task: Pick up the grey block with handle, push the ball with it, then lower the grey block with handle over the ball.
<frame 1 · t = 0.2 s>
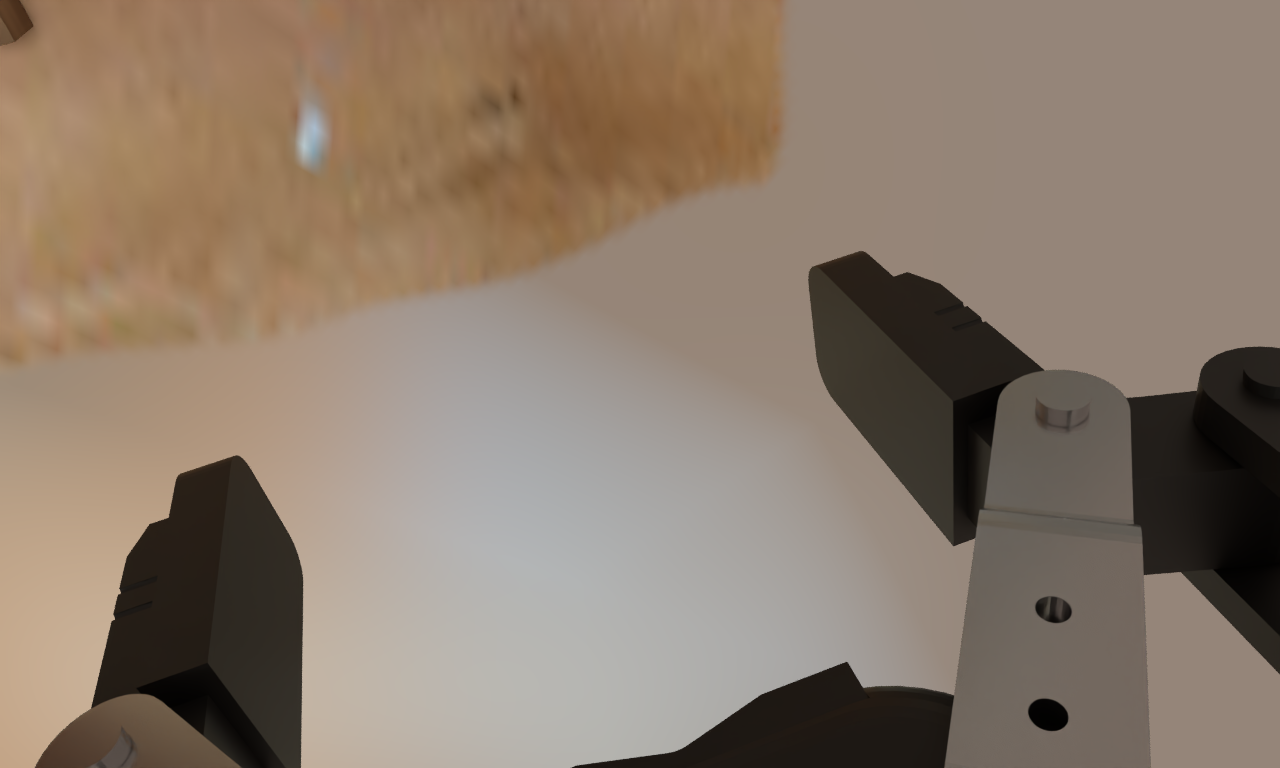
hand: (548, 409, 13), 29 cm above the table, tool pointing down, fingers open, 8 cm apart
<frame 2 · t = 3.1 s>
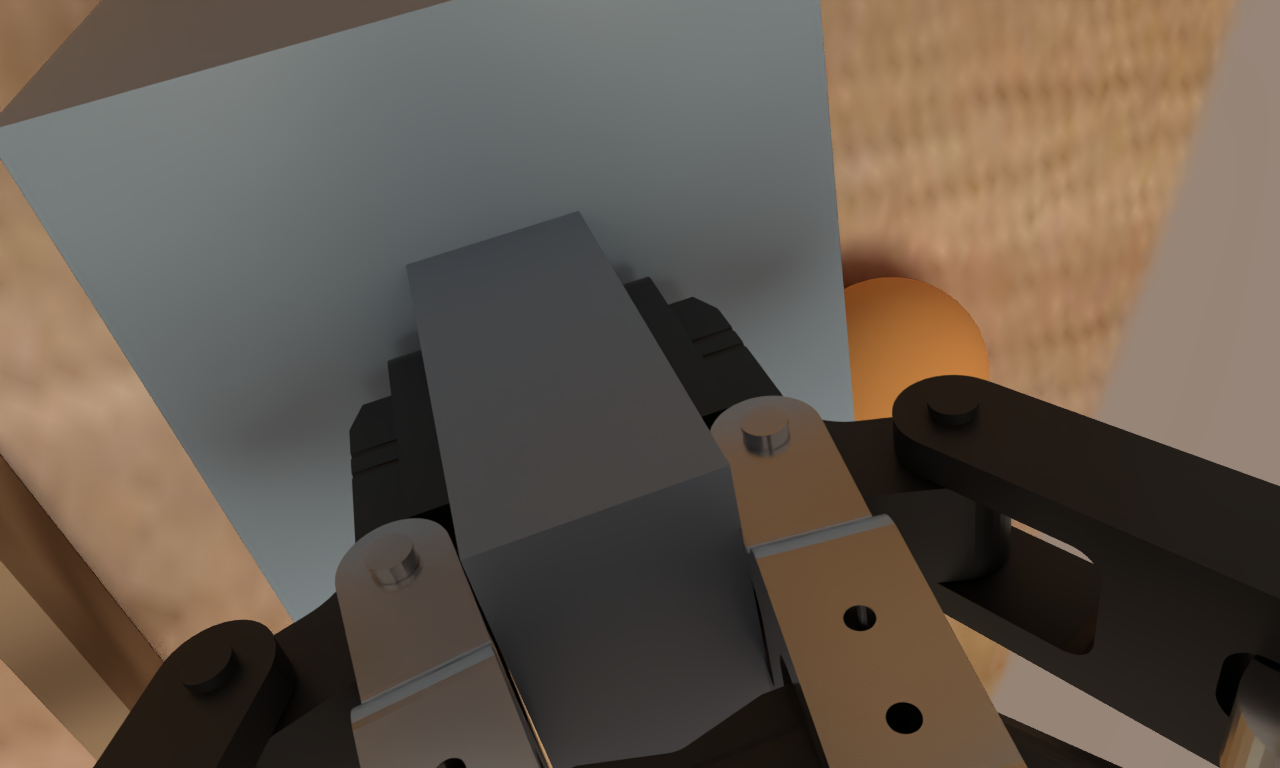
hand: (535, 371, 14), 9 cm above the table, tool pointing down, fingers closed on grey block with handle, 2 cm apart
grey block with handle: (458, 159, 21), on the table, touching gripper
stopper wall: (69, 590, 25), on the table
ball: (888, 371, 25), on the table
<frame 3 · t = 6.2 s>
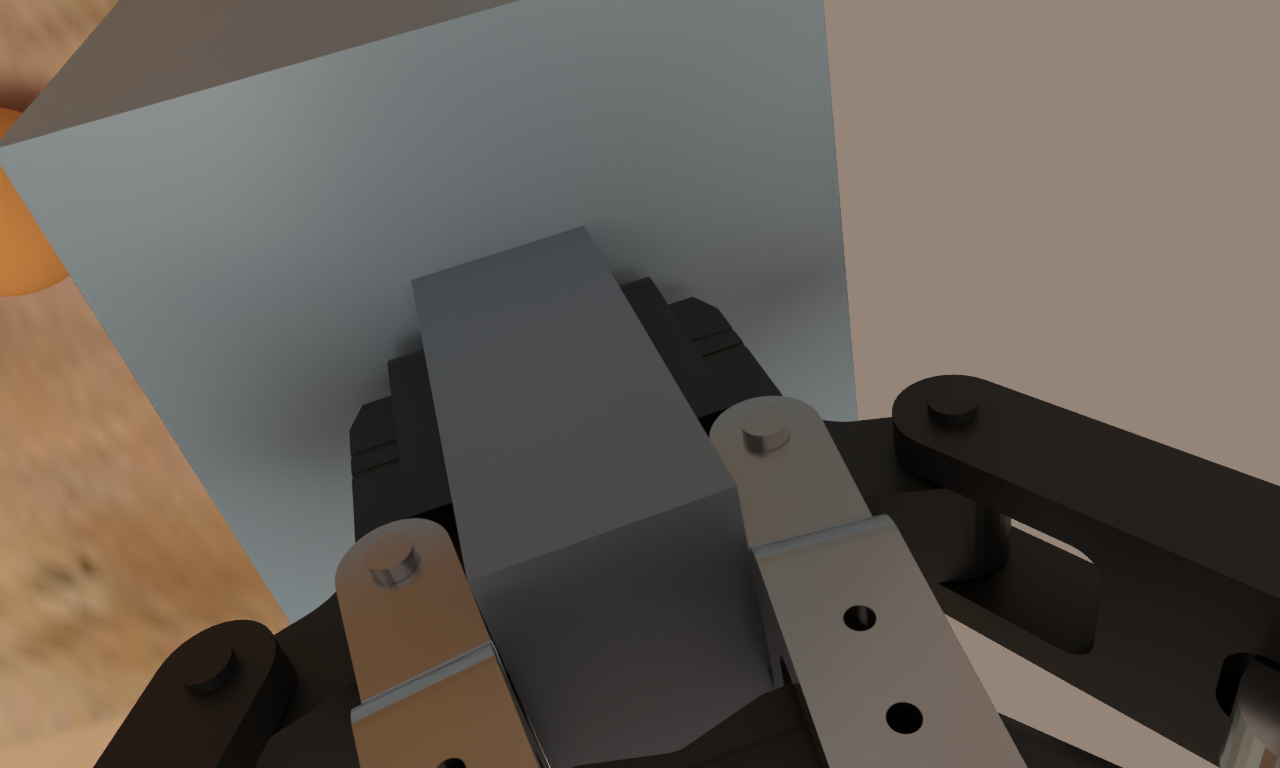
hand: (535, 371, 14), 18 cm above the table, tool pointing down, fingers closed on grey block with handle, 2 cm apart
grey block with handle: (462, 170, 21), point 9 cm above the table, touching gripper
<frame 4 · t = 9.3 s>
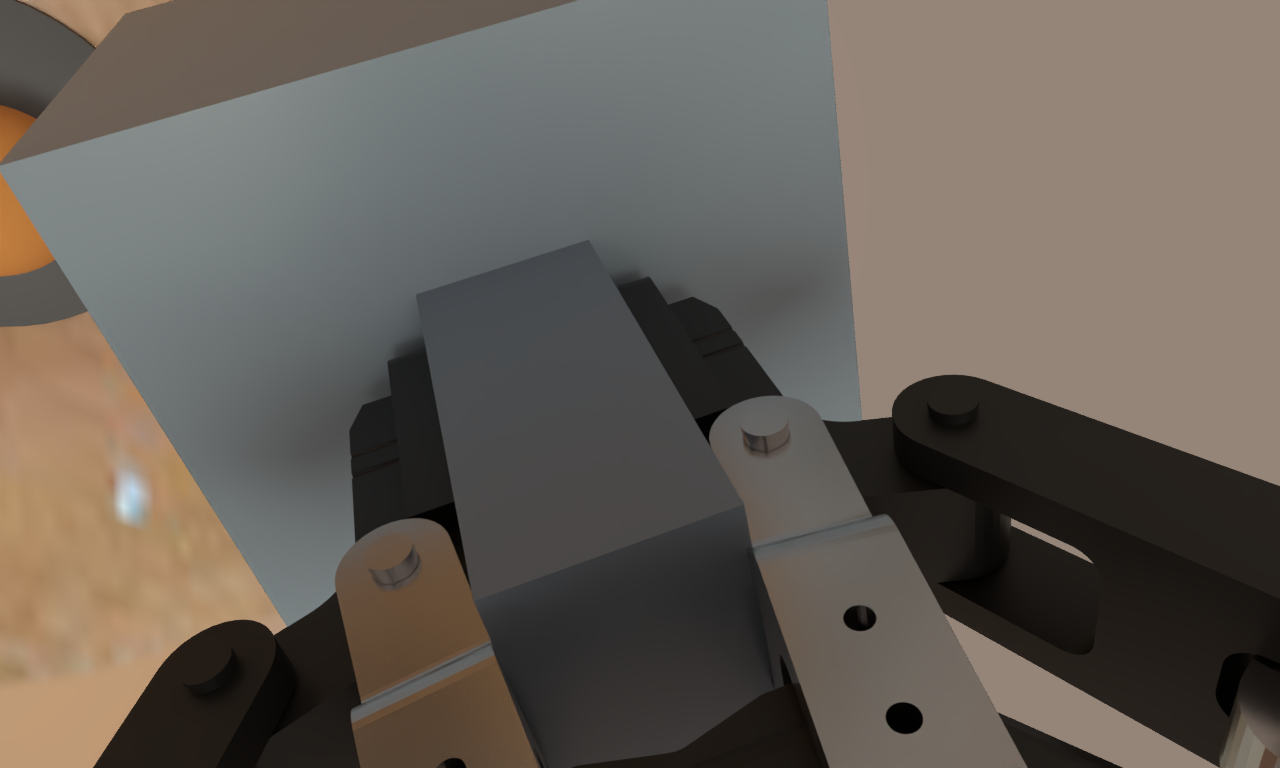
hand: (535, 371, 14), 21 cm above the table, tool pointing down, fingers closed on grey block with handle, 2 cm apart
grey block with handle: (466, 182, 21), point 12 cm above the table, touching gripper
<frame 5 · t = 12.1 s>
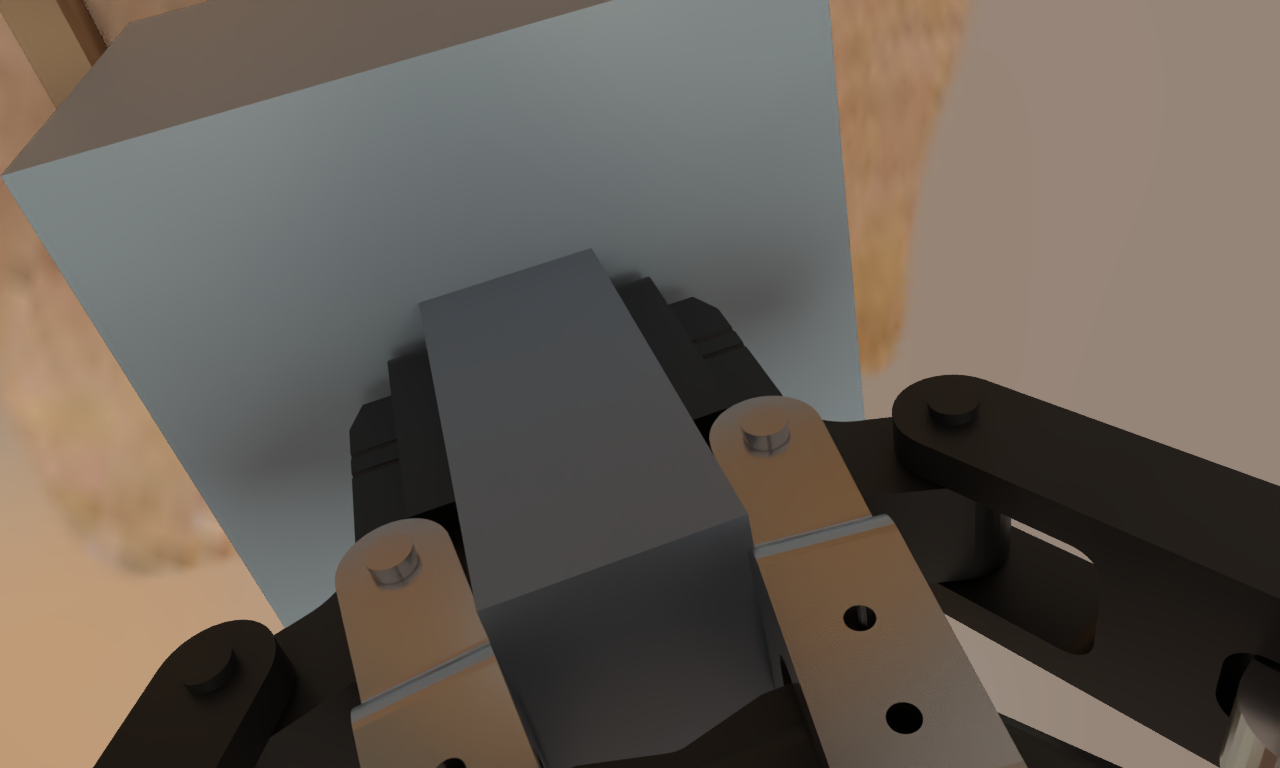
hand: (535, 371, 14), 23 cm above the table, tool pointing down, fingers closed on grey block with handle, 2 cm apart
grey block with handle: (469, 190, 21), point 14 cm above the table, touching gripper
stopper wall: (114, 111, 31), on the table
when the fingers open (10 cm above the table, at t = 14.6 s): grey block with handle stays where it is, on the table.
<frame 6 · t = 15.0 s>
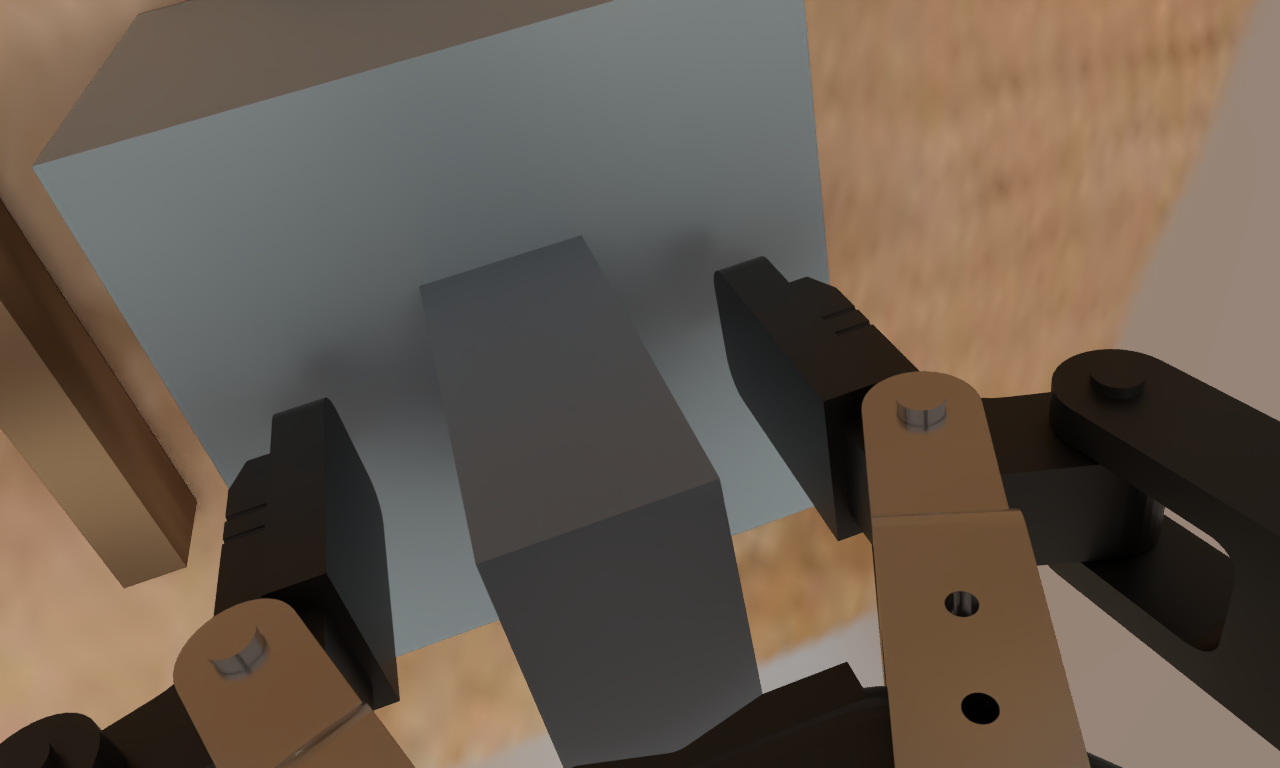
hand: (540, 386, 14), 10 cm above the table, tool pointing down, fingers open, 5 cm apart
grey block with handle: (465, 176, 22), on the table
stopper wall: (12, 283, 21), on the table
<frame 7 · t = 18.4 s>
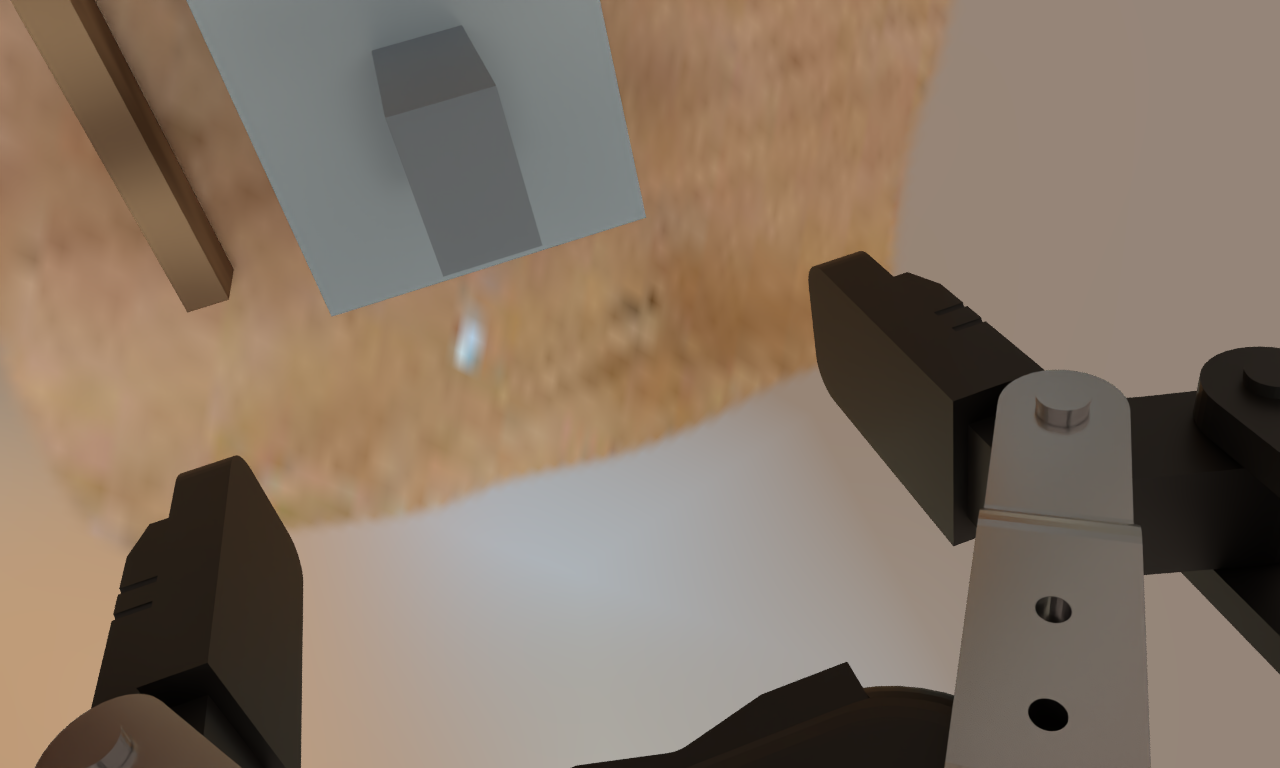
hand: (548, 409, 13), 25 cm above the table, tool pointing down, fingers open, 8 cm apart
grey block with handle: (413, 36, 34), on the table
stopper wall: (119, 99, 32), on the table
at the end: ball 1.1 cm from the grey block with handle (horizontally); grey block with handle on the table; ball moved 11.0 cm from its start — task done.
